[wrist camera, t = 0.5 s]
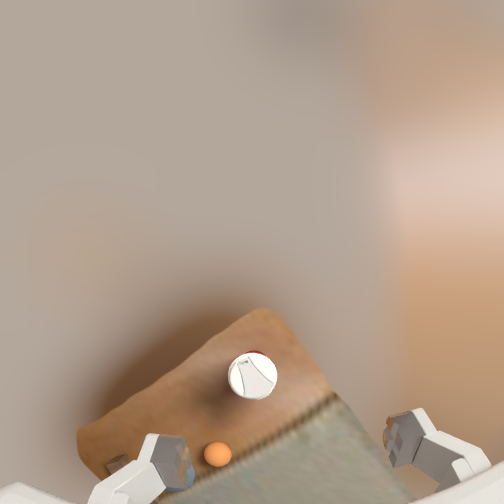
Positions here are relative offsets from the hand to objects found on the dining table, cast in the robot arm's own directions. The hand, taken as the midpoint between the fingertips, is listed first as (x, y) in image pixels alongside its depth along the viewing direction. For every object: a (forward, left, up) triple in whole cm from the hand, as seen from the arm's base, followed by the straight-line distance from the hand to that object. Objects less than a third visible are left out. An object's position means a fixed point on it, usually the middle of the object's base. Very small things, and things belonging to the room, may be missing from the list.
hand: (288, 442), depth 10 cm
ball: (-16, +20, -47) cm, 53 cm away
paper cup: (-3, +4, -50) cm, 50 cm away
